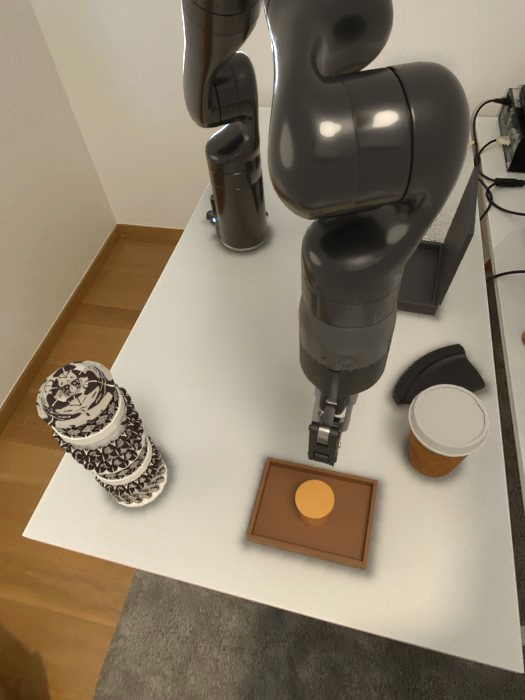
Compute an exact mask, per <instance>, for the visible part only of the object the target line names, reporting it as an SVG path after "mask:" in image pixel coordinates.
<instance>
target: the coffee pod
mask: <svg viewBox="0 0 525 700" xmlns="http://www.w3.org/2000/svg"><path fill="white" fill-rule="evenodd" d="M295 502H296V506H297V508H298V510H299V515H300V518H301V520H302V521H303V522H304V523H305V524H306V525H308V526H310V527H320V526H322V525H324V524H325V523H326V522H327V521H328V519H329V516H330V512H331V510H332V509H333V506H334V494H333V491H332V489H331V488H330V487H329V486H328V485H327V484H326V483H324V482H322V481H320V480H309V481H306V482H304V483H303V484H301V485H300V486H299V488H298V489H297V491H296V495H295Z"/></svg>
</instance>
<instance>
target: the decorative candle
mask: <svg viewBox="0 0 525 700" xmlns="http://www.w3.org/2000/svg"><path fill="white" fill-rule="evenodd" d="M37 392H38V393H37V397H36V401H35V406H36V410H37V413H38V416H39V417H40V419H42V421H44V422H45V424H47V425H49V426H50V427H51V429H53V430H52V438H53V439H55V440H56V441H58V442H57V443H58V446H59V447H60V448H61V449H62V450H63V451H64V452H65V453H68V454H71V457H72V459H74V460H75V461H76V462H77V464H80V465H83V468H84V469H85V470H87V471H89V472H90V473H91V472H92V474H93V475H95V478H94V479H95V481H96V482H97V483H98V484H99V485H100V486H101V487H102V488H103V490H104V491H105V492H106V493H107V494H108V495H109V496H110V497H112V498H113V499H114V501H116V503H118V504H119V505H122V506H125V507H127V508H137V507H143V506H146V505H147V504H149V503H151V502H153V501H155V500H156V498H157V497H158V496H159V495H160V494H161V493H162V492H163V490H164V488H165V486H166V484H167V481H168V468H167V464H166V462H165V459H164V458H163V457H162V454H161V452H159V450H158V447H156V444H155V443H154V442H153V441H152V437H151V436H150V435H147V433H146V430H145V428H144V425H143V421H142V419H141V418H140V414H139V412H138V411H137V410H136V409H135V404H134V403H133V402H132V396H131V395H130V394H129V393H127V390H126V388H124V387H122V386H119V384H118V383H115V379H114V377H113V375H112V372H111V370H109V369H108V368H107V367H106V366H104V364H102V363H100V362H97V361H92V360H79V361H78V360H77V361H73V362H70V363H68V364H65V365H63V366H61V367H59V368H57V369H56V370H54V372H52V373H51V374H50V375H48V376H47V377H46V378H45V380H44V382H43V383H42V385H41V386H40V387H39V389H38V391H37Z"/></svg>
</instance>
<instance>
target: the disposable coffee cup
mask: <svg viewBox="0 0 525 700" xmlns="http://www.w3.org/2000/svg"><path fill="white" fill-rule="evenodd" d="M407 416H408V417H407V418H408V424H409V439H408V440H409V441H408V451H407V452H408V453H407V454H408V459H409V462H410V464H411V466H412V467H413V468H414V469H415V471H417V472H418V473H420V474H421V475H423V476H426V477H428V478H436V479H437V478H442V477H444V476H445V477H446V476H447V475H449V474H450V473H451V472H452V471H453V470H454V469H455V468H456V467H457V466H458V465H459V464H460V463H462V462H463V461H464V460H465V459H466V458H467V457H468V456H470V455H473V454H474V453H476V452H478V451H479V450H480V449H482V448H483V447H484V446H485V445H486V443H487V441H488V440H489V436H490V433H491V421H490V416H489V413H488V410H487V408H486V406H485V404H484V403H483V401H482V400H481V399H480V398H479V397H478V396H477V395H476V394H475V393H474V392H473V393H472V392H470V391H469V390H467V389H465V388H463V387H459V386H456V385H450V384H441V385H435V386H432V387H430V388H428V389H426V390H424V391H422V392H420V393H419V394H418V395H417V396H416V397H415V398H414V399H413V401H412V403H410V405H409V409H408V415H407Z"/></svg>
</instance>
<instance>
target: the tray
mask: <svg viewBox="0 0 525 700" xmlns="http://www.w3.org/2000/svg"><path fill="white" fill-rule="evenodd" d="M309 480H320V481H322V482H324V483H326V484H327V485H328V486H329V487H330V488H331V489H332V491H333V494H334V506H333V509H332V510H331V512H330V516H329V519H328V521H327V522H326V523H325V524H324V525H322V526H320V527H310V526H308V525H306V524H305V523H304V522H303V521H302V520H301V518H300V515H299V510H298V508H297V506H296V502H295V495H296V491H297V489H298V488H299V486H300V485H301V484H303V483H304V482H306V481H309ZM378 482H379V480H378V479H375V478H374V479H373V478H369V477H363V476H359V475H356V474H355V475H354V474H349V473H345V472H341V471H335V470H331V469H327V468H321V467H316V466H313V465H308V464H302V463H298V462H292V461H288V460H284V459H279V458H274V457H269V456H267V459H266V462H265V466H264V469H263V473H262V477H261V480H260V484H259V487H258V492H257V496H256V500H255V503H254V505H253V510H252V515H251V517H250V522H249V526H248V529H247V533H246V540H247V542H249V543H253V544H257V545H261V546H265V547H269V548H273V549H276V550H277V549H278V550H280V551H285V552H289V553H293V554H297V555H301V556H305V557H309V558H313V559H317V560H321V561H325V562H329V563H332V564H337V565H341V566H345V567H349V568H353V569H357V570H360V571H366V569H367V566H368V558H369V551H370V545H371V544H370V543H371V535H372V528H373V520H374V514H375V513H374V512H375V506H376V497H377V490H378V484H379V483H378Z"/></svg>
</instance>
